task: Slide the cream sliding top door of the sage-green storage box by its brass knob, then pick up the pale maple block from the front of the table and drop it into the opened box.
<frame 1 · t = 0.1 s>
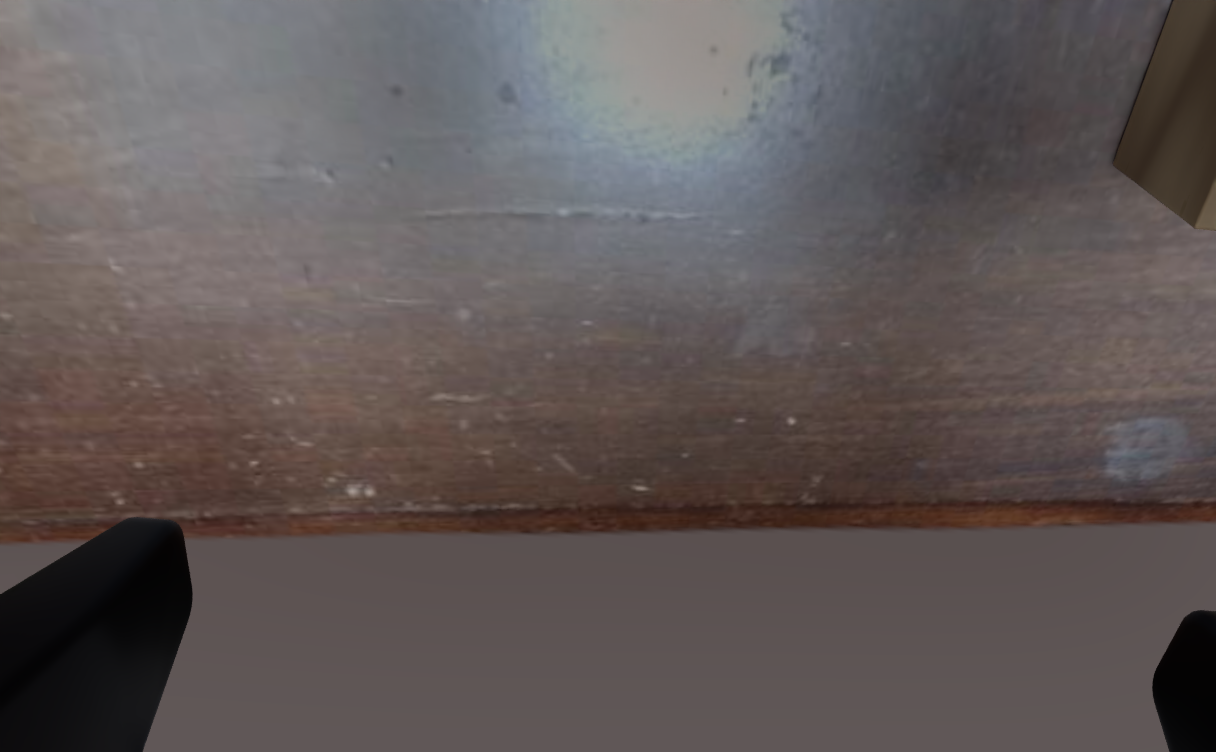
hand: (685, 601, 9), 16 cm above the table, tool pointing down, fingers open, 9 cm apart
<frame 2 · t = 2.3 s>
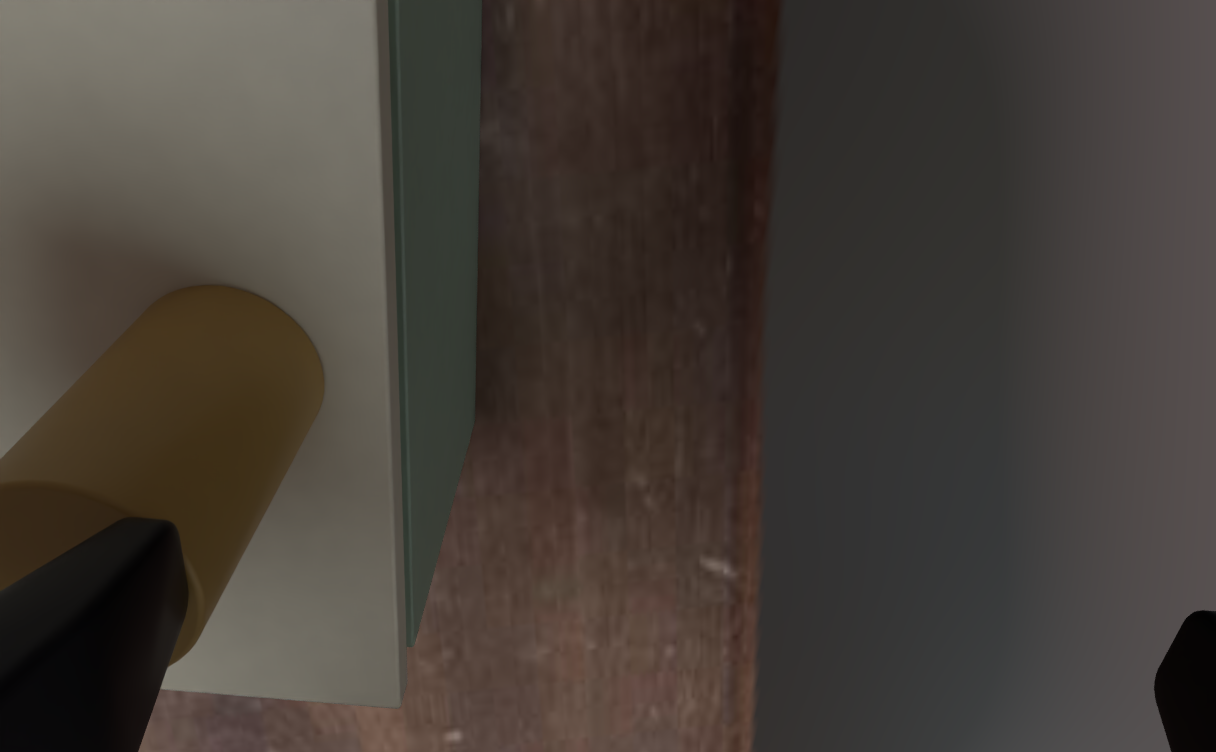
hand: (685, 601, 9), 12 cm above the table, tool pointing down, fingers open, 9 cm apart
storage box: (75, 133, 19), on the table
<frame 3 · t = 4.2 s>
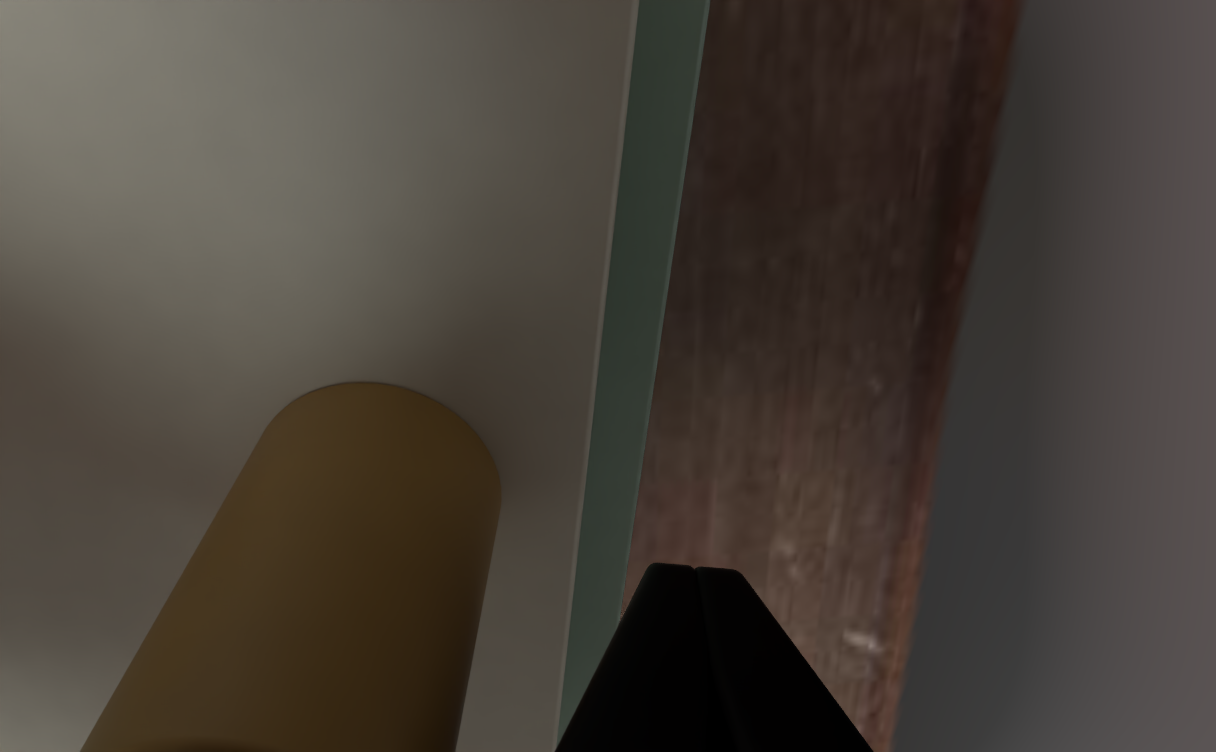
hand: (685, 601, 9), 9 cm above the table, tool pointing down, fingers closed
storage box: (170, 155, 17), on the table
slide door: (72, 585, 8), point 10 cm above the table, slide at 0.7 cm, touching gripper
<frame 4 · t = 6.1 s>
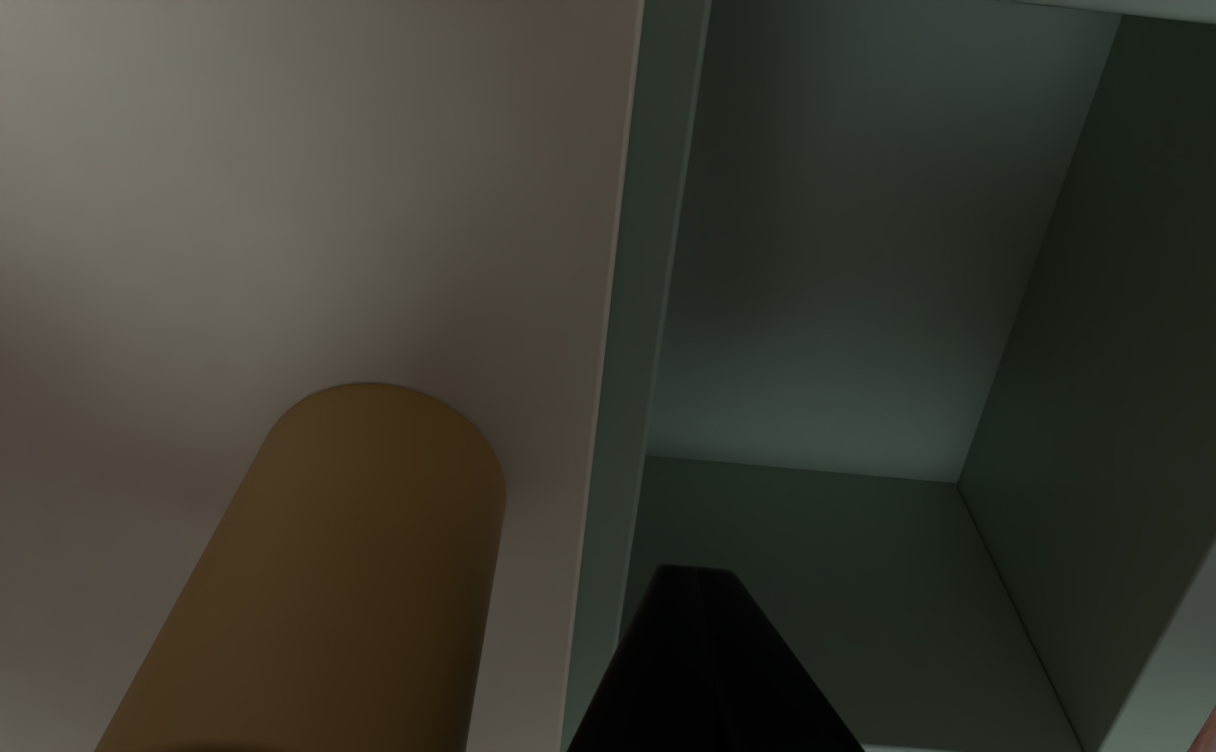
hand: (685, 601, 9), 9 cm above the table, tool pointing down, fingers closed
storage box: (636, 203, 17), on the table
slide door: (78, 589, 8), point 10 cm above the table, slide at 8.6 cm, touching gripper
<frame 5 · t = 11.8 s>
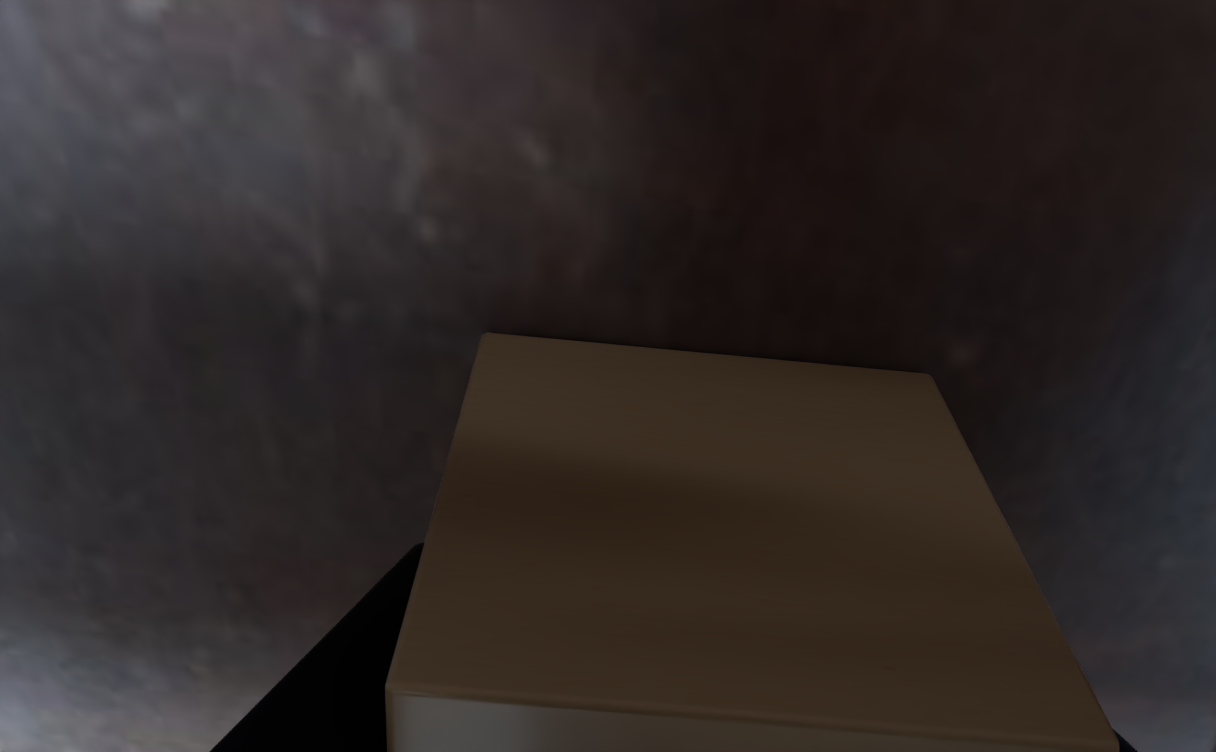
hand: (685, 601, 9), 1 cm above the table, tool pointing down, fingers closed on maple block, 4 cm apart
maple block: (678, 526, 10), on the table, touching gripper
when the fingers open (3 cm above the table, at t = 18.7 s): maple block stays where it is, resting on storage box.
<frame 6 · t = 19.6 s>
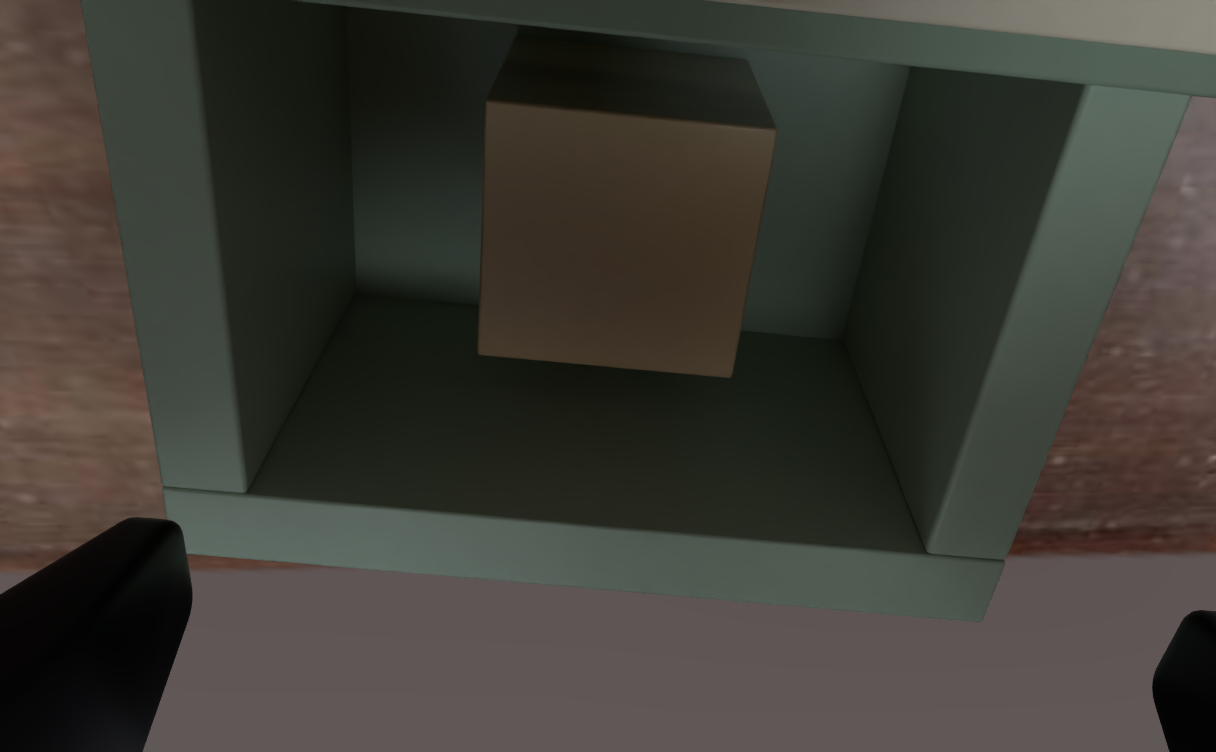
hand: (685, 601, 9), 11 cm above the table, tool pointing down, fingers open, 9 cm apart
maple block: (620, 160, 18), point 1 cm above the table, touching storage box
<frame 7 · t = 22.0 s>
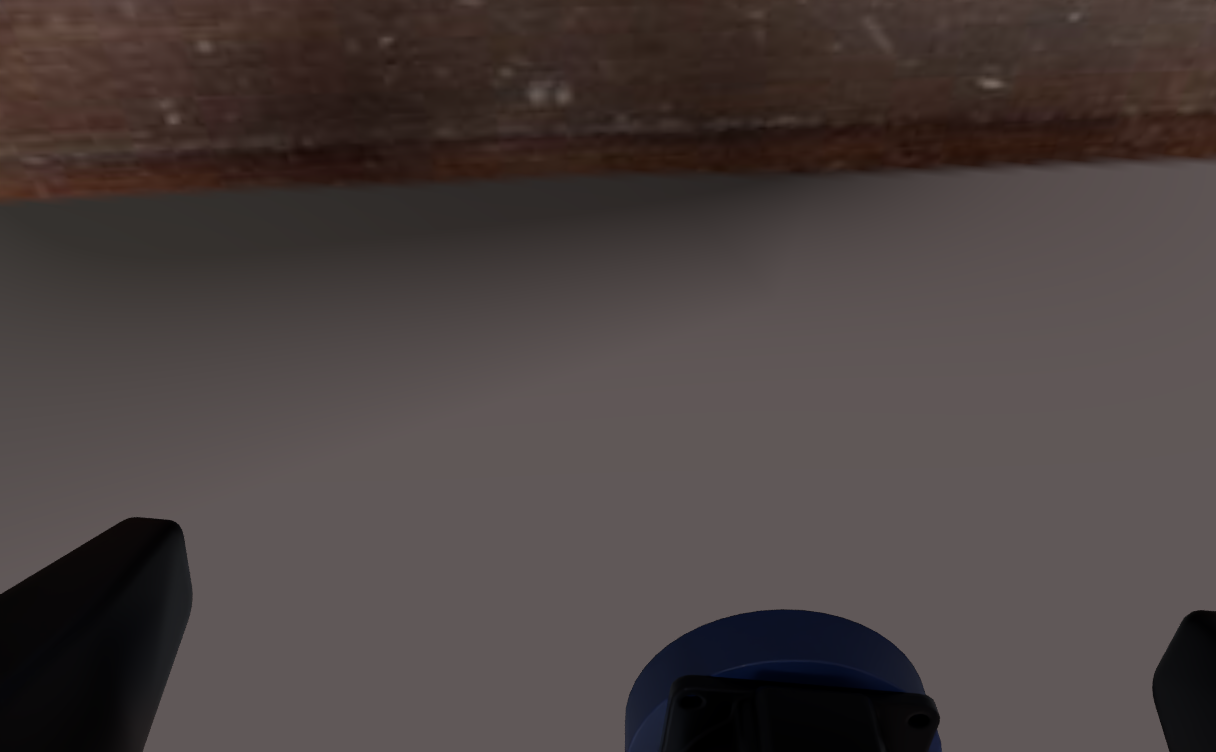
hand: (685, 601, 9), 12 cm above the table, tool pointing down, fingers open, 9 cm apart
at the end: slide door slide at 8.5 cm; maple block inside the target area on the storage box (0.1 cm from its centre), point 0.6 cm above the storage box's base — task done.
